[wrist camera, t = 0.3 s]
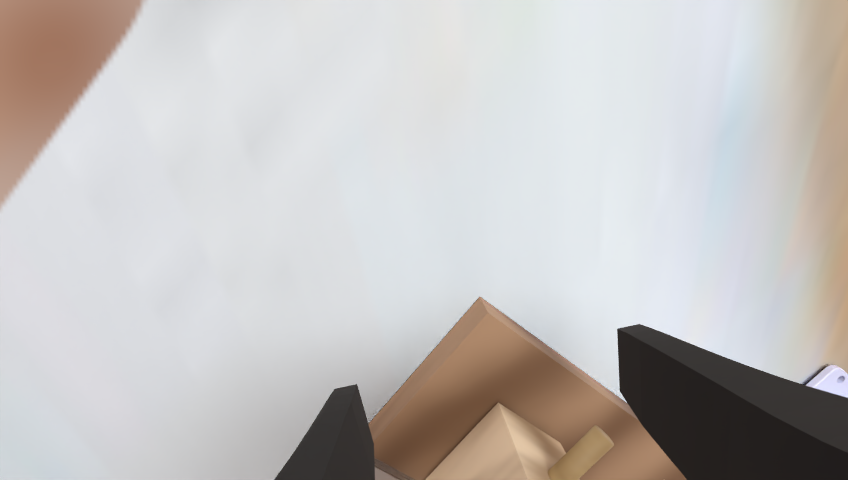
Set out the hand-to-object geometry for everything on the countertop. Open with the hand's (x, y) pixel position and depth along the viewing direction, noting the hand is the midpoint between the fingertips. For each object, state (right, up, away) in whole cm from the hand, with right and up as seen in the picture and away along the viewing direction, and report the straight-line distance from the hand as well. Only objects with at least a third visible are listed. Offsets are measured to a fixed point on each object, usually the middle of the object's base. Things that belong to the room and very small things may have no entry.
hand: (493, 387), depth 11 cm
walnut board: (+4, -10, +14) cm, 18 cm away
